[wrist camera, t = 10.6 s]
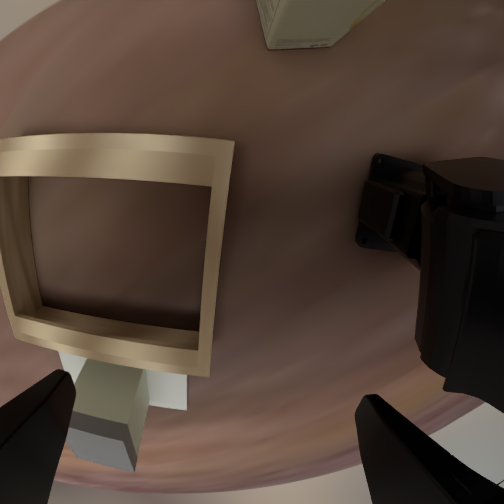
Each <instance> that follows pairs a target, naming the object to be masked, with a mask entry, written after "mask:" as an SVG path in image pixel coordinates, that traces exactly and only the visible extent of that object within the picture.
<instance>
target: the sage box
mask: <svg viewBox="0 0 504 504" xmlns="http://www.w3.org/2000/svg"><path fill="white" fill-rule="evenodd" d="M74 385H75V388H76V399H75V403H74V407H73V411H72V416H71V420H70V425H69V429H68V434H67V437H66V442H67V443H68V445H69V447H70V449H71V450H72V452H73V454H74V455H75V457H77V458H80V459H83V460H87V461H90V462H94V463H97V464H101V465H105V466H109V467H113V468H117V469H121V470H126V471H130V472H135V467H136V462H137V457H138V452H139V447H140V442H141V437H142V433H143V428H144V423H145V419H146V415H147V410H148V406H149V401H150V399H149V391H148V383H147V374H146V369H141V368H135V367H129V366H123V365H118V364H113V363H108V362H103V361H98V360H93V359H89V358H87V360H86V361H85V363H84V365H83V367H82V369H81V371H80V373H79V375H78V377H77V379H76V381H75V383H74Z"/></svg>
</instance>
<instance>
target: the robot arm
mask: <svg viewBox="0 0 504 504" xmlns="http://www.w3.org/2000/svg"><path fill="white" fill-rule="evenodd" d="M379 158H382V163H381V164H379V162H378V160H379ZM358 218H359V219H360V222H359V226H358V230H357V234H356V239H355V241H356V243H357V244H358V245H359V246H360V247H362V248H370V249H378V250H385V251H393V252H398V253H399V254H401V255H402V256H403V257H404V258H406V259H407V260H408V261H409V262H410V263H412V264H413V265H414V266H415V267H416V268H418V269H419V270H420V285H419V298H418V309H417V318H416V328H415V340H416V343H417V345H418V348H419V351H420V352H421V356H420V358H421V360H422V361H423V362H424V363H425V364H426V365H427V366H428V367H429V368H430V369H431V370H433V371H434V372H436V373H438V374H439V375H441V376H443V377H445V378H446V379H445V382H444V385H443V390H444V391H446V392H455V393H464V394H467V395H471V396H474V397H477V398H480V399H481V400H483V401H485V402H487V403H489V404H490V405H492V406H493V407H495V408H496V409H498V410H499V411H501V412H502V413H504V160H500V159H493V158H487V157H473V158H463V159H454V160H445V161H437V162H429V163H423V166H421V165H418V164H415V163H412V162H409V161H406V160H402V159H399V158H396V157H392V156H389V155H385V154H381V153H377V154H375V155H374V157H373V160H372V165H371V170H370V175H369V180H368V181H367V182H366V183H365V188H364V193H363V198H362V202H361V207H360V211H359V216H358ZM363 237H365V240H364V241H363V242H361V239H362V238H363ZM75 399H76V388H75V385H74V382H73V380H72V377H71V374H70V373H69V372H68V371H64V370H61V369H57V370H55V371H54V372H52V373H51V374H49V375H48V376H46V377H45V378H43V379H42V380H40V381H39V382H37V383H36V384H34V385H33V386H31V387H30V388H28V389H27V390H25V391H24V392H22V393H21V394H19V395H18V396H16V397H15V398H13V399H12V400H10V401H9V402H7V403H6V404H5V405H3V406H2V407H0V504H47V503H48V499H49V495H50V491H51V487H52V484H53V480H54V476H55V473H56V470H57V466H58V463H59V459H60V456H61V453H62V450H63V447H64V444H65V441H66V437H67V434H68V429H69V425H70V420H71V416H72V411H73V407H74V403H75ZM355 422H356V428H357V435H358V442H359V449H360V455H361V460H362V464H363V467H364V472H365V475H366V479H367V483H368V487H369V491H370V495H371V500H372V503H373V504H504V488H502V487H500V486H498V485H497V484H495V483H493V482H492V481H490V480H488V479H486V478H485V477H483V476H481V475H480V474H478V473H477V472H475V471H473V470H472V469H470V468H469V467H468V466H466V465H465V464H463V463H462V462H461V461H459V460H458V459H457V458H455V457H454V456H453V455H451V454H450V453H449V452H448V451H446V450H445V449H444V448H443V447H441V446H440V445H439V444H438V443H436V442H435V441H434V440H433V439H431V438H430V437H429V436H428V435H426V434H425V433H424V432H423V431H421V430H420V429H419V428H418V427H416V426H415V425H414V424H413V423H412V422H410V421H409V420H408V419H407V418H405V417H404V416H403V415H402V414H401V413H399V412H398V411H397V410H396V409H394V408H393V407H392V406H391V405H390V404H388V403H387V402H386V401H385V400H384V399H382V398H381V397H380V396H379V395H377V394H369V395H365V396H364V397H363V398H362V400H361V402H360V404H359V406H358V407H357V409H356V411H355Z"/></svg>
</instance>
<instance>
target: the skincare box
mask: <svg viewBox="0 0 504 504" xmlns="http://www.w3.org/2000/svg"><path fill="white" fill-rule="evenodd" d="M385 1H386V0H256V3H257V7H258V11H259V16H260V20H261V24H262V28H263V32H264V36H265V40H266V44H267V48H268V49H291V48H316V47H331V46H333V45H334V44H335V43H336V42H337V41H338V40H340V39H341V38H342V37H343V36H344V35H345V34H346V33H348V32H349V31H350V30H351V29H352V28H353V27H354V26H355V25H357V24H358V23H359V22H360V21H361V20H363V19H364V18H365V17H366V16H367V15H369V14H370V13H371V12H373V11H374V10H375V9H376V8H377V7H379V6H380V5H381V4H382V3H384V2H385Z"/></svg>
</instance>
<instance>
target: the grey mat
mask: <svg viewBox="0 0 504 504" xmlns="http://www.w3.org/2000/svg"><path fill="white" fill-rule="evenodd" d="M59 355H60V358H61V361H62V365H63V368H64V371H68V372H69V373H70V374H71V377H72V380H73V382H74V383H75V381H76V379H77V377H78V375H79V373H80V371H81V369H82V367H83V365H84V363H85V361H86V360H87V358H85V357H80V356H76V355H72V354H68V353H64V352H60V351H59ZM146 374H147V383H148V391H149V399H150V401H149V405H152V406H159V407H166V408H173V409H181V410H187V375H183V374H175V373H167V372H160V371H153V370H147V369H146Z"/></svg>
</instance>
